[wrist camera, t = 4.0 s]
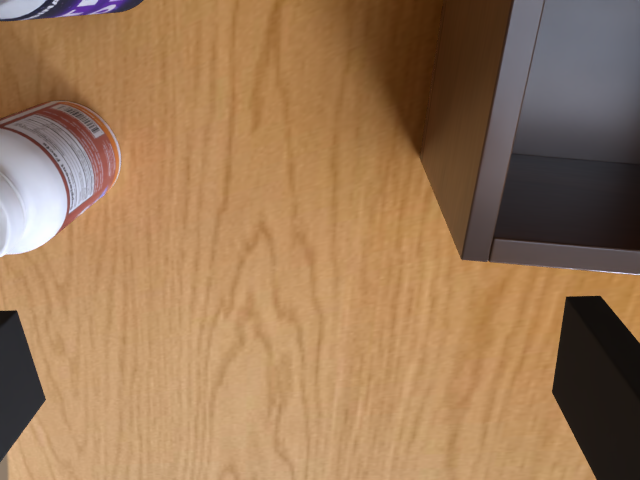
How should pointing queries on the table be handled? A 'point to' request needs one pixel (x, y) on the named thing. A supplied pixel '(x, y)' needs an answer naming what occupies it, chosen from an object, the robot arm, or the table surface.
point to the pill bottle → (51, 171)
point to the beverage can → (60, 8)
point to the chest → (538, 132)
